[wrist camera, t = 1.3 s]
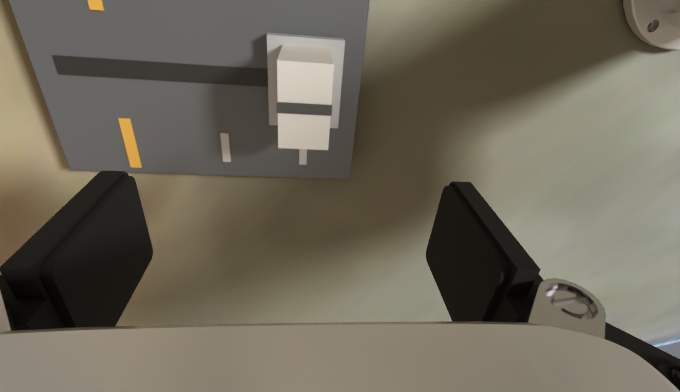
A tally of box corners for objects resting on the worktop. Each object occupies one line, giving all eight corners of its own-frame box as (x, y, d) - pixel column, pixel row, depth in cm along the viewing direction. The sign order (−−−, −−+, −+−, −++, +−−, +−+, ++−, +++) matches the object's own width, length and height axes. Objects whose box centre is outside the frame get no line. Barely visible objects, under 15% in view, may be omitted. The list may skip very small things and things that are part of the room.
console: (367, -47, 24) (375, -50, 21) (346, 163, 32) (350, 180, 30) (14, -84, 22) (-27, -92, 19) (90, 153, 30) (69, 170, 27)
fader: (343, 38, 24) (354, 55, 19) (337, 123, 27) (344, 158, 22) (268, 32, 23) (256, 49, 18) (270, 120, 26) (261, 155, 21)
